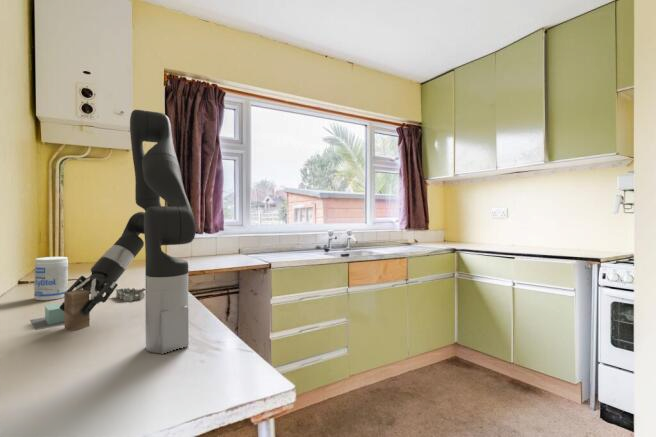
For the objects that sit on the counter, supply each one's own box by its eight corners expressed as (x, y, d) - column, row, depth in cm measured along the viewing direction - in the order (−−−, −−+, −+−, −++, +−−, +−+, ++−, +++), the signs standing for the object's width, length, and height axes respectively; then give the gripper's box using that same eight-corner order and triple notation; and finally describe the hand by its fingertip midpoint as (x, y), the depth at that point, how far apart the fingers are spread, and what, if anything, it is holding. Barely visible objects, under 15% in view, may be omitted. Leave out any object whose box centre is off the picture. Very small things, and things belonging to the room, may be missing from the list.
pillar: (89, 327, 94) (89, 290, 93) (73, 331, 90) (73, 294, 90) (80, 325, 95) (80, 289, 95) (64, 329, 91) (64, 292, 91)
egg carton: (146, 299, 124) (146, 288, 124) (123, 303, 118) (123, 292, 118) (136, 294, 131) (136, 284, 131) (114, 298, 125) (114, 287, 125)
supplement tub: (30, 302, 118) (30, 260, 118) (38, 296, 126) (38, 257, 126) (65, 299, 123) (65, 258, 122) (70, 293, 131) (70, 255, 131)
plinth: (75, 319, 99) (75, 306, 99) (48, 324, 94) (48, 310, 94) (70, 315, 103) (70, 302, 103) (45, 319, 98) (45, 306, 98)
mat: (90, 320, 99) (90, 319, 99) (36, 331, 90) (36, 329, 90) (80, 312, 107) (80, 311, 107) (30, 321, 98) (30, 319, 98)
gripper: (88, 254, 102) (44, 301, 92) (121, 257, 96) (78, 307, 86) (106, 269, 107) (66, 315, 97) (138, 272, 101) (99, 322, 91)
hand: (72, 311), depth 91 cm, fingers open, 8 cm apart
